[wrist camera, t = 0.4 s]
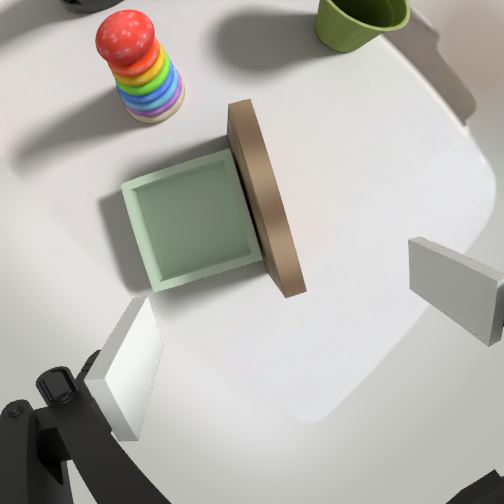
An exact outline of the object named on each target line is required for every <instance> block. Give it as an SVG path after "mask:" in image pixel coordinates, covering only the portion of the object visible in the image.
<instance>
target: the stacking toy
mask: <svg viewBox="0 0 504 504" xmlns="http://www.w3.org/2000/svg"><path fill="white" fill-rule="evenodd" d="M154 36H155V32H154V26H153V24H152V22H151V20H150V19H149V18H148V17H147V16H146V15H145V14H143V13H142V12H139V11H136V10H123V11H119V12H116V13H114V14H112V15H110V16H109V17H108V18H106V19H105V20H104V21H103V23H102V24H101V25H100V27H99V29H98V31H97V34H96V39H95V42H96V48H97V51H98V52H99V54H100V55H101V56H102V58H104V59H105V60H106V61H107V62H108V65H109V67H110V69H111V71H112V74H113V76H114V77H115V81H116V85H117V89H118V91H119V93H120V96H121V98H122V100H123V102H124V104H125V107H126V109H127V111H128V113H129V114H130V115H131V116H132V117H133V118H135V119H136V120H138V121H141V122H144V123H157V122H161V121H164V120H166V119H168V118H170V117H171V116H172V115H174V114H175V113H176V112H177V111H178V109H179V108H180V106H181V105H182V103H183V100H184V96H185V86H184V82H183V80H182V78H181V77H180V75H179V73H178V71H177V70H176V69H175V67H174V66H173V65H172V63H171V61H170V60H169V57H168V55H167V54H166V52H165V51H164V49H163V47H162V46H161V45H160V44H159V43H158V41H157V39H156V38H155V37H154Z"/></svg>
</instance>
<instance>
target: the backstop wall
mask: <svg viewBox="0 0 504 504" xmlns="http://www.w3.org/2000/svg"><path fill="white" fill-rule="evenodd" d="M227 137H228V140H229V143H230V147H231V150H232V153H233V157H234V160H235V163H236V167H237V170H238V173H239V177H240V180H241V183H242V187H243V190H244V194H245V197H246V200H247V204H248V207H249V210H250V214H251V217H252V221H253V224H254V227H255V231H256V234H257V238H258V241H259V244H260V248H261V251H262V255H263V258H264V261H265V265H266V268H267V272H268V274H269V275H270V277H271V278H272V280H273V281H274V282H275V284H276V285H277V287H278V288H279V289H280V291H281V292H282V294H283V295H284V296H285V298H288V297H291V296H294V295H297V294H300V293H304V292H307V291H306V287H305V283H304V279H303V275H302V272H301V268H300V264H299V260H298V257H297V253H296V249H295V246H294V242H293V239H292V235H291V231H290V228H289V224H288V221H287V217H286V214H285V210H284V207H283V203H282V200H281V196H280V193H279V190H278V186H277V183H276V179H275V176H274V173H273V169H272V166H271V163H270V160H269V156H268V153H267V150H266V146H265V143H264V140H263V137H262V134H261V130H260V127H259V124H258V121H257V118H256V115H255V112H254V109H253V105H252V102H251V99H248V100H243V101H239V102H235V103H232V104H228V122H227Z"/></svg>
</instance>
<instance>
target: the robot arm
mask: <svg viewBox="0 0 504 504" xmlns="http://www.w3.org/2000/svg"><path fill="white" fill-rule="evenodd" d="M61 1H62V3H63V4H64V5H65V7H66V8H67V9H68V10H70V11H72V12H75V13H93V12H97V11H101V10H104V9H107V8H109V7H112V6H114V5H116V4H118V3H119V2H121V1H123V0H61ZM408 245H409V270H410V289H411V290H412V291H414V292H415V293H416V294H418V295H419V296H421V297H422V298H423V299H425V300H426V301H428V302H429V303H430V304H432V305H433V306H435V307H436V308H437V309H439V310H440V311H441V312H443V313H444V314H445V315H447V316H448V317H450V318H451V319H452V320H454V321H455V322H456V323H458V324H459V325H460V326H462V327H463V328H464V329H466V330H467V331H468V332H470V333H471V334H472V335H474V336H475V337H476V338H478V339H479V340H480V341H481V342H483V343H484V344H485V345H487V346H488V347H489V346H491V345H493V344H494V343H496V342H498V341H500V340H501V336H502V331H503V326H504V273H502V272H501V271H499V270H496V269H494V268H492V267H490V266H487V265H485V264H483V263H481V262H478V261H476V260H474V259H472V258H470V257H467V256H465V255H463V254H460V253H458V252H456V251H453V250H451V249H449V248H446V247H444V246H442V245H439V244H437V243H434V242H432V241H429V240H427V239H424V238H422V237H417V238H412V239H408ZM163 348H164V343H163V340H162V338H161V335H160V332H159V329H158V326H157V323H156V320H155V317H154V314H153V311H152V308H151V305H150V302H149V299H148V296H144V297H138V298H133V299H132V301H131V303H130V304H129V306H128V307H127V309H126V310H125V312H124V314H123V315H122V317H121V318H120V320H119V322H118V323H117V325H116V327H115V328H114V330H113V332H112V333H111V335H110V336H109V338H108V340H107V341H106V343H105V345H104V346H103V348H102V350H97V351H96V352H94V353H93V354H92V355H91V356H90V357H89V358H88V359H87V361H86V363H85V366H83V368H82V369H81V372H80V373H79V374H78V376H77V378H76V379H74V377H73V375H72V373H71V371H70V369H68V368H67V367H63V366H60V367H55V368H52V369H49V370H48V371H46V372H44V373H43V374H42V375H40V376H39V377H38V379H37V381H36V387H37V389H38V390H39V392H40V394H41V395H42V397H43V399H44V401H45V402H46V404H47V406H48V407H44V408H40V409H36V410H33V408H32V407H31V405H30V404H29V402H28V401H27V400H16V401H14V402H10V403H9V404H8V405H6V407H5V408H4V409H3V411H2V413H1V415H0V504H74V503H73V498H72V492H71V487H70V481H69V475H68V469H67V460H73V462H74V464H75V465H76V468H77V470H78V471H79V473H80V475H81V477H82V479H83V480H84V482H85V484H86V486H87V487H88V489H89V491H90V492H91V494H92V496H93V497H94V499H95V501H96V502H97V504H171V503H170V502H169V501H168V500H167V499H166V498H165V497H164V495H162V493H161V492H160V491H159V490H158V489H157V488H156V487H155V486H154V485H153V484H152V483H151V482H150V481H149V479H148V478H147V477H146V476H145V475H144V474H143V473H142V472H141V470H140V469H139V468H138V467H137V466H136V465H135V463H134V462H133V461H132V460H131V459H130V458H129V456H128V455H127V454H126V453H125V451H124V450H123V449H122V448H121V446H120V445H119V444H118V443H117V441H116V440H115V439H114V437H113V436H112V435H111V431H113V433H114V434H115V436H116V438H117V439H118V441H138V440H139V436H140V432H141V428H142V424H143V420H144V416H145V413H146V409H147V405H148V401H149V398H150V394H151V390H152V386H153V383H154V379H155V376H156V372H157V369H158V365H159V362H160V358H161V355H162V351H163ZM446 504H504V476H502V477H500V475H499V474H498V473H497V472H496V470H495V469H494V470H493V471H491V472H490V473H488V474H487V475H485V476H484V477H482V478H480V479H479V480H477V481H476V482H474V483H473V484H471V485H469V486H467V487H466V488H464V489H462V490H461V491H460V492H459V493H458V494H456V495H455V496H454V497H453V498H452V499H451V500H450V501H449V502H447V503H446Z"/></svg>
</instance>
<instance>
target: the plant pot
mask: <svg viewBox="0 0 504 504" xmlns="http://www.w3.org/2000/svg"><path fill="white" fill-rule="evenodd" d="M409 17H410V8H409V4H408V1H407V0H320V2H319V8H318V13H317V19H316V25H315V30H316V33H317V35H318V36H319V38H320V40H321V41H322V42H323V43H324V44H325V45H326V46H327V47H329V48H331V49H333V50H335V51H339V52H352V51H355V50H357V49H358V48H360V47H361V46H363V45H364V44H366V43H367V42H369V41H370V40H372V39H374V38H375V37H377V36H378V35H380V34H382V33H385V32H387V31H394V30H398V29H400V28H402V27H403V26H404V25H406V23H407V22H408V20H409Z"/></svg>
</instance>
